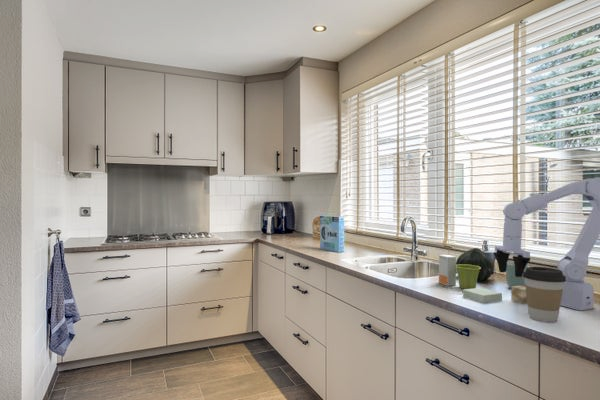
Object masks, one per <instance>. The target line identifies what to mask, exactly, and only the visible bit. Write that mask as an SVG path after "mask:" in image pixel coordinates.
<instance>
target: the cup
mask: <svg viewBox="0 0 600 400" xmlns="http://www.w3.org/2000/svg"><path fill="white" fill-rule="evenodd" d="M528 267H529V265H528V264H527V265H526V267H525V269H524V272H525V271H526V268H528ZM505 280H506V285H507V286H508V287H509V289H512V287H513V286H524V287H525V279H524V277H523V274H522V277H516V276H515V264H514V261H507V268H506V272H505Z"/></svg>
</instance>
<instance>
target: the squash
mask: <svg viewBox="0 0 600 400" xmlns="http://www.w3.org/2000/svg"><path fill="white" fill-rule="evenodd" d="M459 264H466V265H474V266H479V267H481V269H480V270H479V273H478V278H477V282H481V281H487V280H489V278H491V276H492V274H493V272H494V271H493V269H494V268H493V262H492V259H491V257H490V256H489V255H488V254H487V253H486V252H485V251H483V250H482V249H480V248H477V247H475V248H474V247H473V248H471V249H468V250H467V251H465V252H463V253H461V254H460V255H459V256H458V257H457V258H456V265H459ZM456 269H457V267H456Z"/></svg>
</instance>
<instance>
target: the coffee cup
mask: <svg viewBox="0 0 600 400" xmlns="http://www.w3.org/2000/svg"><path fill="white" fill-rule="evenodd" d="M523 277H524V279H525V287H526V296H527V303H526V304H527V310H528V315H529V318H530V319H531V320H534V321H536V322H541V323H549V324H550V323H551V324H552V323H557V321H558V319H559V316H560V314H559V313H560V309H561V305H560V304H561V298H562V292H563V286H564V282H565V281H566V277H565V276H564V275H563V273H562V271H561V270H558V269H557V268H554V267H553V268H552V267H545V266H528V268H526V271H525V272H523Z"/></svg>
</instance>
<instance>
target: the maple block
mask: <svg viewBox="0 0 600 400" xmlns="http://www.w3.org/2000/svg"><path fill="white" fill-rule="evenodd" d="M510 289H511V295H510V296H511V297H510V298H511V299H510V300H511V301H512V302H515V303H520V304H524V305H525V304H527V296H526V287H524V286H513V287H512V288H510Z"/></svg>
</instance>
